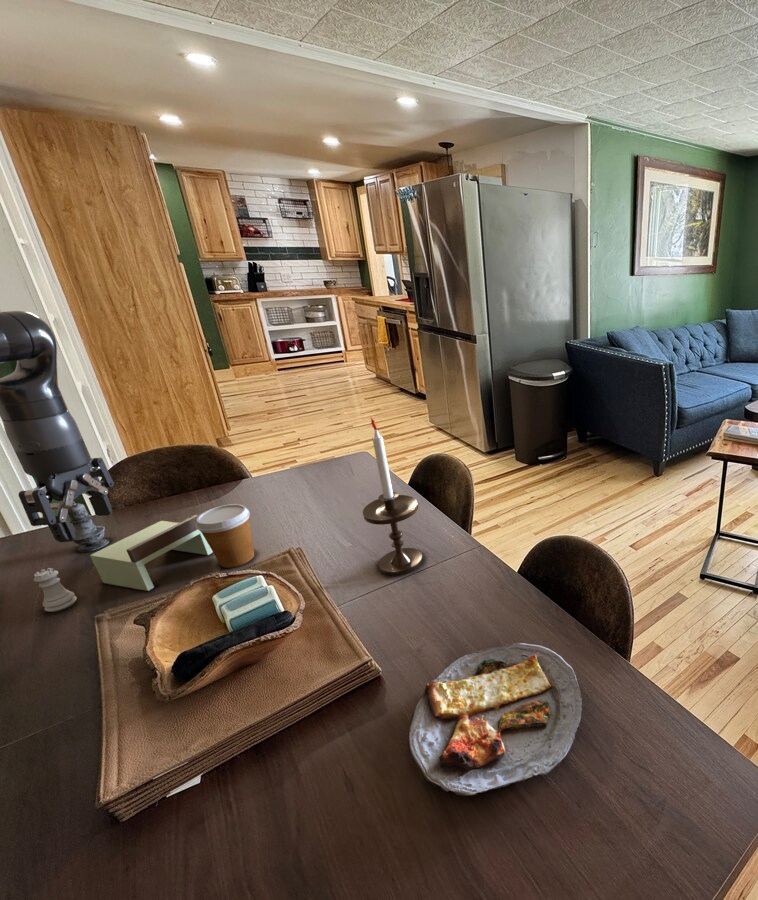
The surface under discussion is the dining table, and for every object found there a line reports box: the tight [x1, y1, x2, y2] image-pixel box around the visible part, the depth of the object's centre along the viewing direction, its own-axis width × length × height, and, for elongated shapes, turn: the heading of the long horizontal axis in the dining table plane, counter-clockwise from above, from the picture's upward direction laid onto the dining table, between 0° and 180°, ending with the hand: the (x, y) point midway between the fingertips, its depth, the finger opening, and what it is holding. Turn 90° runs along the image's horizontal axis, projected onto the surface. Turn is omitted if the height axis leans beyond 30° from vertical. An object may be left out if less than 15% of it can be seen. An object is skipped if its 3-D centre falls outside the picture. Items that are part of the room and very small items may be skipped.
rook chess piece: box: [33, 567, 78, 613], centre depth 92 cm, size 4×4×8 cm
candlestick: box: [362, 416, 423, 577], centre depth 100 cm, size 11×11×35 cm
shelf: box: [89, 514, 214, 592], centre depth 103 cm, size 12×14×10 cm
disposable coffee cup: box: [196, 503, 255, 568], centre depth 105 cm, size 10×10×12 cm
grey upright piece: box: [67, 501, 110, 553], centre depth 110 cm, size 6×6×12 cm
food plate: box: [407, 641, 583, 797], centre depth 71 cm, size 25×23×4 cm
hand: (87, 527), depth 82 cm, fingers open, 8 cm apart
